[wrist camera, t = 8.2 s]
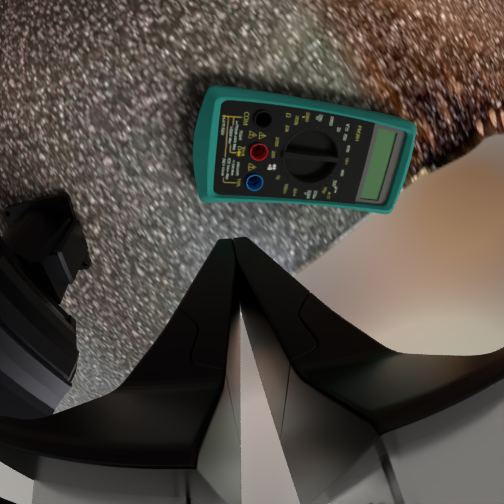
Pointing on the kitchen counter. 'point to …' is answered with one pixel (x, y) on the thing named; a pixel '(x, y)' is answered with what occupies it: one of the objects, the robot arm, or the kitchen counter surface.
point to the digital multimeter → (298, 151)
